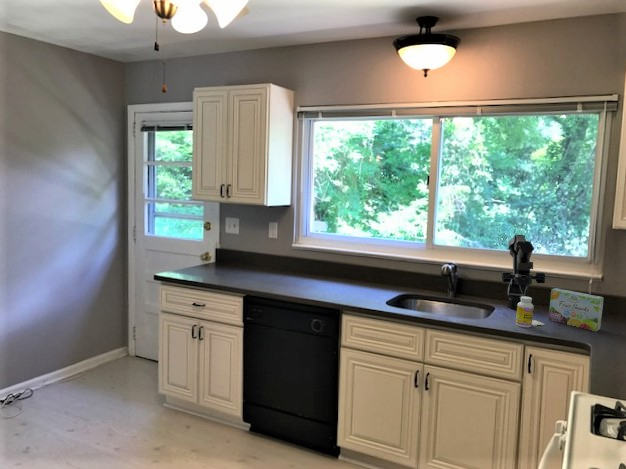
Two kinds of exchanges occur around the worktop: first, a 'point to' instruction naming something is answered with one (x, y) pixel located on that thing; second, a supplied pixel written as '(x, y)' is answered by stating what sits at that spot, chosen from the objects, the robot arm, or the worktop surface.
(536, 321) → the cream tile
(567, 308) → the snack box
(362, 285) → the worktop surface
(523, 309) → the supplement bottle
